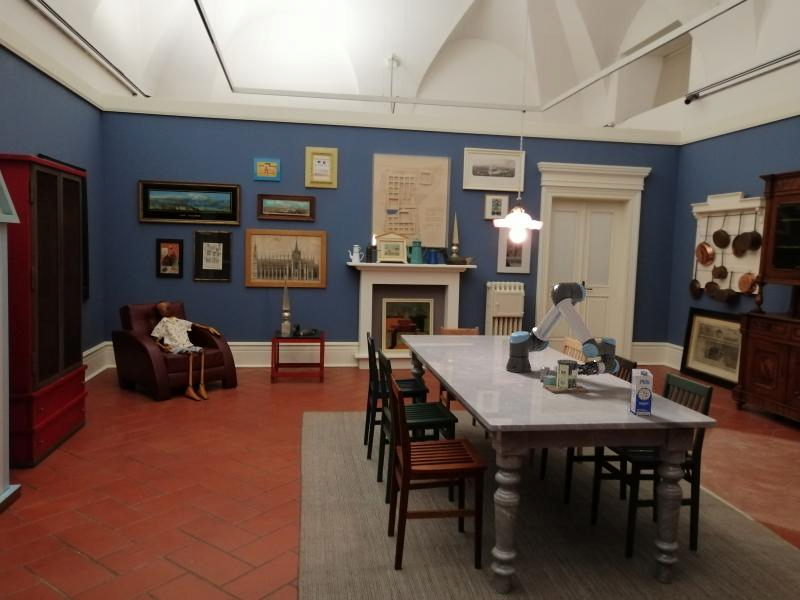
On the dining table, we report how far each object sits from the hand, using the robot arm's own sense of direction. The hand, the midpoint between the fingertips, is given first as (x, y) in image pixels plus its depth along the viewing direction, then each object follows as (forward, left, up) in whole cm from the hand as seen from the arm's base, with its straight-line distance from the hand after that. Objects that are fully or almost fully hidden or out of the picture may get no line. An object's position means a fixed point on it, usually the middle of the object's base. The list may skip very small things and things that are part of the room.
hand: (563, 370), depth 302 cm
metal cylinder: (-20, -1, -11) cm, 23 cm away
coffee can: (-1, +2, -9) cm, 10 cm away
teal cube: (-11, -2, -11) cm, 16 cm away
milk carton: (+46, +15, -11) cm, 49 cm away
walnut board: (-1, +2, -11) cm, 11 cm away
